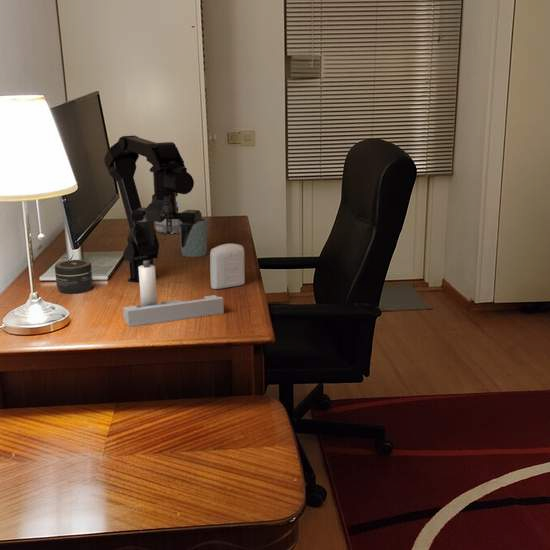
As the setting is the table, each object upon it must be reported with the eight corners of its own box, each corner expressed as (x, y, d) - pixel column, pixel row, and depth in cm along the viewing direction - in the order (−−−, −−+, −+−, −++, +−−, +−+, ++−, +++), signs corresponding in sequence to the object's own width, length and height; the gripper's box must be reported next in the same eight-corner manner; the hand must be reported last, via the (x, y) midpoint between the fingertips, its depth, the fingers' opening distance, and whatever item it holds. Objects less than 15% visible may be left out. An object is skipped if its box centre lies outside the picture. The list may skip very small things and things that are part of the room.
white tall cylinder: (140, 319, 170) (137, 263, 166) (142, 314, 174) (139, 259, 170) (156, 319, 170) (153, 262, 166) (158, 313, 174) (155, 258, 170)
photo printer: (239, 281, 201) (238, 240, 198) (247, 284, 198) (246, 243, 195) (208, 287, 196) (207, 245, 193) (215, 291, 193) (214, 248, 189)
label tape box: (155, 232, 268) (154, 200, 264) (163, 230, 271) (161, 199, 267) (172, 234, 263) (170, 203, 259) (179, 232, 266) (178, 201, 263)
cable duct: (129, 326, 165) (128, 311, 164) (123, 318, 171) (122, 303, 170) (223, 313, 174) (223, 298, 173) (215, 305, 180) (215, 291, 179)
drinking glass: (184, 258, 227) (182, 223, 224) (175, 252, 236) (173, 217, 233) (213, 255, 231) (211, 220, 228) (203, 249, 240) (202, 215, 237)
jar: (76, 282, 202) (73, 257, 199) (100, 287, 197) (98, 261, 194) (49, 291, 193) (46, 265, 191) (74, 296, 188) (72, 270, 186)
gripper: (119, 193, 180) (123, 251, 184) (185, 195, 175) (187, 255, 179) (138, 187, 190) (141, 242, 194) (201, 189, 185) (203, 245, 189)
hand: (167, 246), depth 189 cm, fingers open, 9 cm apart
